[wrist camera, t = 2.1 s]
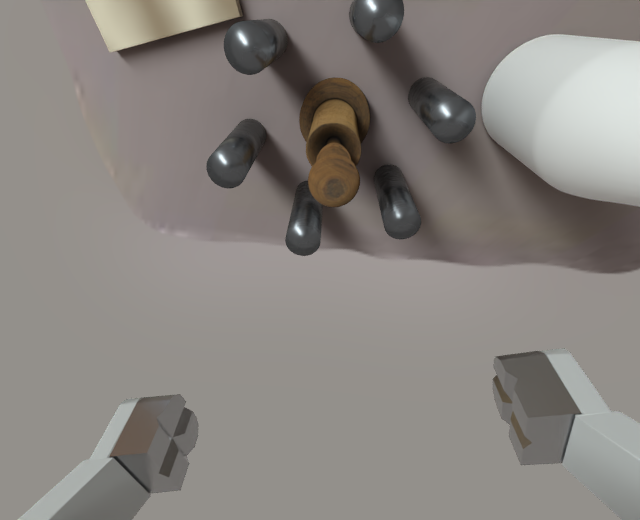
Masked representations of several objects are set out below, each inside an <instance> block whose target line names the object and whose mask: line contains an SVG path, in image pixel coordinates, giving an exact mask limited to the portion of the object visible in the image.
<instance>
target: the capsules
mask: <svg viewBox="0 0 640 520" xmlns="http://www.w3.org/2000/svg"><path fill="white" fill-rule="evenodd" d="M403 16H404V5H403V0H354V1H353V2H352V4H351V7H350V12H349V18H350V23H351V25H352V27H353V28H354V30H355V31H356V32H358V33H359V34H360V35H361V36H362V37H363V38H365V39H366V40H368V41H370V42H375V43H379V42H384V41H386V40H388V39H390V38H391V37H392V36H394V35H395V33H396V32H397V31H398V29H399V28H400V26H401V23H402V20H403ZM286 47H287V34H286V32H285V29H284V28H283V26H282V25H281V24H280V23H279V22H277V21H275V20H272V19H263V20H251V21H241V22H237V23H235V24H234V25H232V26H231V27H230V28H229V30H228V31H227V33H226V35H225V39H224V51H225V55H226V57H227V59H228V61H229V63H230V64H231V65H232V67H233V68H234V69H236V70H237V71H239V72H240V73H243V74H247V75H252V74H256V73H259V72H260V71H262V70H263V69H264V68H266V67H267V66H268V65H270V64H271V63H272V62H274V61H275V60H276V59H277V58H279V57H280V56H281V55H282V54H283V53H284V52H285V50H286ZM408 100H409V104H410V106H411V107H412V108H413V110H414V111H415V112H416V113H417V115H418V116H419V117H420V118H421V120H422V121H423V122H424V123H425V124H426V126H427V127H428V128H429V129H430V131H431V132H432V133H433V134H434V136H435V137H436V138H437V139H438V140H440V141H441V142H444V143H455V142H458V141H460V140H462V139H464V138H465V137H466V136H467V135H468V134H469V133H470V132H471V131H472V129H473V127H474V124H475V120H476V113H475V110H474V108H473V106H472V105H471V104H470V103H469V102H468V101H466V100H465V99H463V98H462V97H460V96H459V95H457V94H456V93H454V92H453V91H451V90H450V89H448V88H447V87H445V86H444V85H442V84H441V83H439V82H438V81H436V80H435V79H433V78H429V77H426V78H421V79H419V80H418V81H416V82H415V83H414V84H413V85H412V87H411V89H410V91H409V95H408ZM265 140H266V132H265V129H264V127H263V126H262V125H261V123H259V122H258V121H256V120H254V119H245V120H243V121H241V122H240V123H239V124H238V125H237V126H236V128H235V129H234V130H233V131H232V132H231V133H230V134H229V135H228V137H227V138H226V139H225V140H224V141H223V142H222V143H221V145H220V146H219V147H218V148H217V149H216V150H215V151H214V152H213V154H212V155H211V156H210V157H209V159H208V161H207V172H208V175H209V177H210V178H211V180H212V181H213V182H214V183H215V184H217V185H219V186H221V187H223V188H235V187H237V186H239V185H240V184H241V183H242V182H243V180H244V179H245V177H246V175H247V173H248V171H249V170H250V168H251V166H252V164H253V162H254V161H255V159H256V157H257V155H258V153H259V152H260V150H261V148H262V146H263V144H264V142H265ZM374 184H375V188H376V193H377V197H378V201H379V206H380V210H381V215H382V219H383V223H384V228H385V231H386V232H387V234H388V235H389V236H391V237H393V238H395V239H406V238H409V237H411V236H413V235H414V234H415V233H416V232H417V231H418V230H419V228H420V225H421V218H420V215H419V213H418V210H417V208H416V206H415V203H414V201H413V198H412V196H411V194H410V191H409V189H408V186H407V184H406V182H405V179H404V177H403V174H402V172H401V170H400V169H399V168H398V167H397V166H394V165H384V166H382V167H380V168H379V169H378V170H377V171H376V173H375V175H374ZM322 209H323V205H322V204H321V203H319V202H318V201H317V200H316V199H315V198H314V197H313V196H312V194H311V192H310V189H309V185H308V181H304V182H302V183H301V184H300V185H299V186H298V187H297V189H296V194H295V198H294V203H293V207H292V212H291V216H290V221H289V225H288V230H287V234H286V239H285V241H286V245H287V247H288V249H289V250H290V251H291V252H293V253H295V254H297V255H302V256H306V255H310V254H313V253H314V252H315V251H317V249H318V248H319V246H320V238H321V223H322Z"/></svg>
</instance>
